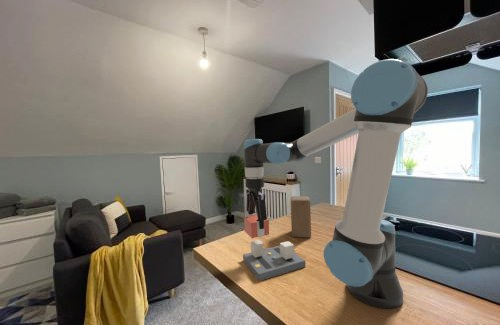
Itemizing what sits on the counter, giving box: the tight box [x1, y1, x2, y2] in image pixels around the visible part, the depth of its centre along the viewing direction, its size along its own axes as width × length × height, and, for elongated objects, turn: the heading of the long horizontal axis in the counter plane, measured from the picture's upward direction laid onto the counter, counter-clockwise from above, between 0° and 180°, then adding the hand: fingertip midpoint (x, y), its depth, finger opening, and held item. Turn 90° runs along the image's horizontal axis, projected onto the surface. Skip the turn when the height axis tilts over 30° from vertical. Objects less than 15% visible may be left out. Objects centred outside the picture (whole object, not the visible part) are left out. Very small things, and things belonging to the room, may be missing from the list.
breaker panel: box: [242, 245, 306, 282], centre depth 84 cm, size 16×20×3 cm
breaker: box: [279, 240, 295, 259], centre depth 83 cm, size 4×4×5 cm
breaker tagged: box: [250, 239, 265, 257], centre depth 86 cm, size 4×4×5 cm
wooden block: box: [290, 195, 312, 239], centre depth 112 cm, size 10×10×20 cm
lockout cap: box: [243, 214, 270, 239], centre depth 85 cm, size 8×8×6 cm
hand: (256, 232), depth 85 cm, fingers closed on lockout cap, 8 cm apart
